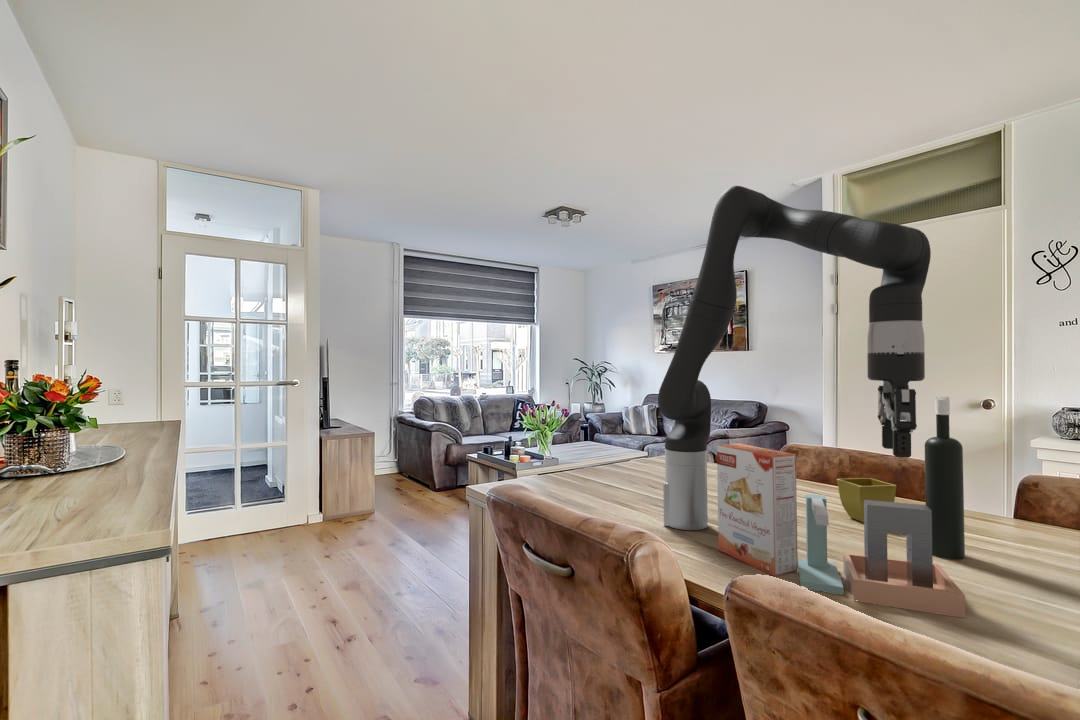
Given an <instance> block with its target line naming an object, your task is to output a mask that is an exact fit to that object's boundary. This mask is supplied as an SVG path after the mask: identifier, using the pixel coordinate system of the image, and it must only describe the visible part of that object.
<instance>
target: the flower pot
mask: <svg viewBox="0 0 1080 720" xmlns="http://www.w3.org/2000/svg"><path fill="white" fill-rule="evenodd" d="M836 481H837V488H838V493H839V498H840V502H841V505H842V506H843V509H844V511H845V512H846V513H847V515H848V516H849V518H850V519H853V520H856V521H859V522H861V523H864V500H874V501H886V502H895V500H896V492H897V484H893V483H889V482H885V481H882V480H879V479H875V478H871V477H857V478H855V477H854V478H851V477H849V478H836Z"/></svg>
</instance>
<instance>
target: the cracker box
mask: <svg viewBox="0 0 1080 720" xmlns="http://www.w3.org/2000/svg"><path fill="white" fill-rule="evenodd" d="M796 455H797V454H796V453H792V452H791V453H790V452H788V451H787V452H785V451H782V450H775V449H771V448H764V447H761V446H760V447H759V446H756V445H749V444H744V443H737V442H736V443H723V444H719V445H716V456H717V457H716V460H717V461H716V462H717V463H716V464H717V465H716V466H717V468H716V469H717V470H716V471H717V472H716V473H717V520H718V521H717V529H718V530H717V532H718V533H717V534H718V535H717V536H718V551H720V552H722V553H724V554H726V555H729V556H730V557H732V558H734V559H737V560H739V561H741V562H743V563H745V564H747V565H750V566H751V567H754V568H755V569H758V570H760V571H762V572H763V573H766V574H768V575H770V576H772V575H773V576H772V577H777V576H783V575H786V574H787V575H788V574H791V573H796V572H798V559H799V557H798V552H799V551H798V514H797V513H798V512H797V511H798V504H797V503H798V502H797V499H798V498H797V456H796Z"/></svg>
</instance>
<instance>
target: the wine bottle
mask: <svg viewBox="0 0 1080 720" xmlns="http://www.w3.org/2000/svg"><path fill="white" fill-rule="evenodd" d="M934 400H935V403H934V404H935V405H934V406H935V408H934V409H935V410H934V411H935V416H936V418H935V419H936V420H935V421H936V422H935V424H936V436H933V437H929V438H928V439H927V440H926V441H925V443H924V481H925V482H924V485H925V487H924V489H925V491H924V492H925V505H926V506H927V507H928V508H929V509H930V510H932V556H933V557H937V558H941V559H947V560H958V561H960V560H964V559H965V557H966V552H965V548H966V547H965V499H964V498H965V496H964V493H965V492H964V489H965V488H964V456H963V455H964V452H963V451H964V450H963V445H962V443H961V441H959V440H957V439H955V438H954V437H950V414H951V410H950V409H951V408H950V397H949V396H935V399H934Z"/></svg>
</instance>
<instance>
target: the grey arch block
mask: <svg viewBox="0 0 1080 720" xmlns="http://www.w3.org/2000/svg"><path fill="white" fill-rule="evenodd" d="M863 529H864V530H863V531H864V532H863V535H864V536H863V537H864V538H863V539H864V541H863V543H864V555H865V579H868V580H875V581H882V582H888V562H887V558H888V533H892V534H893V533H894V534H901V535H905V538H906V540H905V541H906V560H907V585H912V586H919V587H926V588H933V561H934V559H933V555H932V510H930V509H929V508H928V507H927V506H926V504H920V503H910V502H909V503H908V502H907V503H906V502H897V501H896V502H895V501H894V502H886V501H874V500H864V522H863Z"/></svg>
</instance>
